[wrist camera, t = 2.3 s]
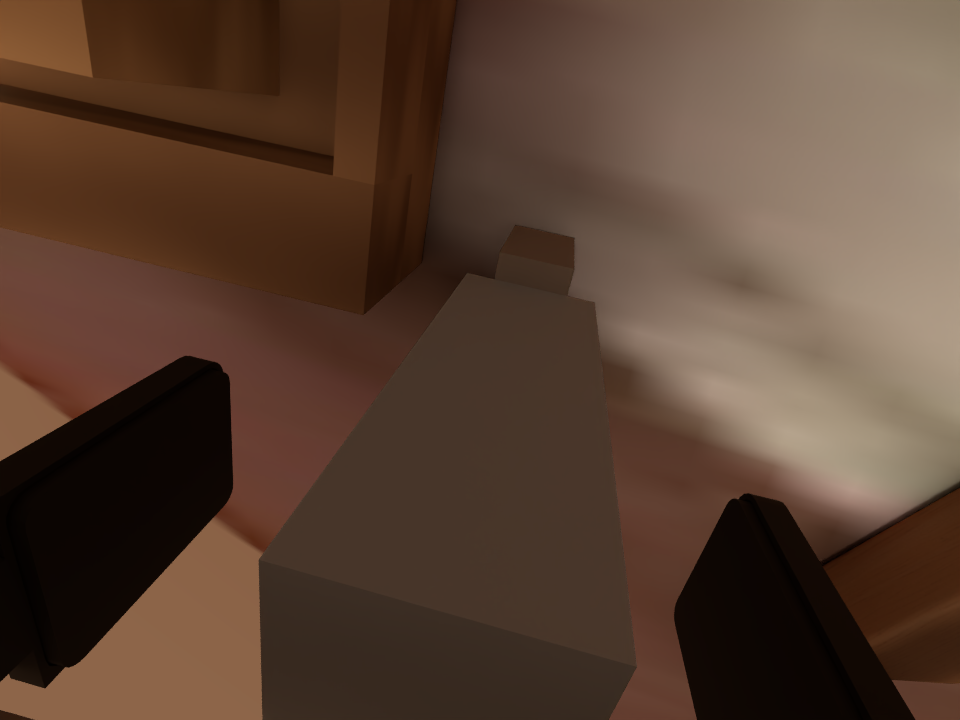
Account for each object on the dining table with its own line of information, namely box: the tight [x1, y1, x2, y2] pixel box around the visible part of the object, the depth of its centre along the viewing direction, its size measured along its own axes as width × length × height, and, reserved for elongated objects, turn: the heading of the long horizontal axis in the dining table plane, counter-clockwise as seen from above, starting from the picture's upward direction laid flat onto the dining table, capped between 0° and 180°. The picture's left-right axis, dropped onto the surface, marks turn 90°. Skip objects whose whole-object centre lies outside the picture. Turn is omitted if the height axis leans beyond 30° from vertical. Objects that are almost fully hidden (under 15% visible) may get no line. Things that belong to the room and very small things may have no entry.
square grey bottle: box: [259, 225, 637, 720], centre depth 11 cm, size 5×4×14 cm
